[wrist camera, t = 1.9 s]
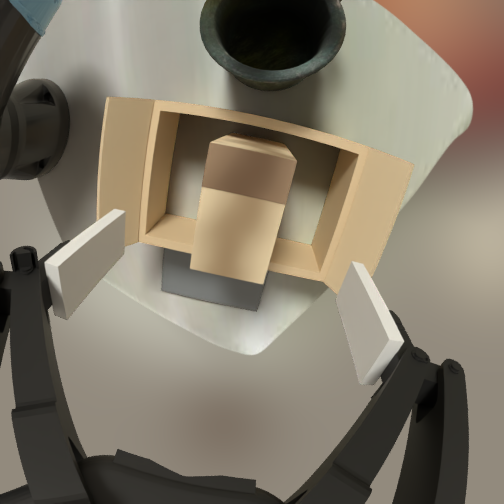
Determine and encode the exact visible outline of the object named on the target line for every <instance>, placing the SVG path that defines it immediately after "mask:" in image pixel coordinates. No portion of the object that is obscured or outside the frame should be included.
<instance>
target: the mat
mask: <svg viewBox="0 0 504 504" xmlns="http://www.w3.org/2000/svg"><path fill="white" fill-rule="evenodd" d="M191 256H192V254H190V253H186V252H181V251H177V250H172V249H168V248H164V258H163V272H162V288H161V290H162V291H166V292H170V293H174V294H178V295H182V296H187V297H191V298H195V299H200V300H204V301H209V302H213V303H218V304H222V305H227V306H232V307H236V308H241V309H246V310H251V311H256V312H257V309H258V305H259V302H260V298H261V295H262V292H263V288H264V285H265V281H266V278H267V274H268V271H269V270H267V273H266V276H265V280H264V283H263V284H258V283H254V282H249V281H244V280H239V279H235V278H230V277H225V276H221V275H216V274H212V273H207V272H203V271H198V270H194V269H190V263H191Z"/></svg>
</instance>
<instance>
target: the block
mask: <svg viewBox="0 0 504 504" xmlns="http://www.w3.org/2000/svg"><path fill="white" fill-rule="evenodd" d="M296 164H297V161H296V159H295V158H294V156H293V155H292V153H291V152H290V151H289V149H288V148H287V147H286V145H285V144H283V143H279V142H275V141H271V140H267V139H262V138H258V137H253V136H248V135H243V134H238V133H233V132H232V133H230V134H228V135H225V136H223V137H221V138H219V139H216V140H214V141H212V142H210V144H209V149H208V155H207V160H206V165H205V171H204V176H203V182H202V190H201V196H200V202H199V208H198V215H197V221H196V228H195V234H194V241H193V248H192V256H191V263H190V269H194V270H198V271H203V272H207V273H212V274H216V275H221V276H225V277H230V278H235V279H239V280H244V281H249V282H254V283H258V284H263V283H264V280H265V276H266V273H267V269H268V266H269V262H270V258H271V255H272V251H273V248H274V244H275V241H276V237H277V233H278V230H279V226H280V222H281V219H282V215H283V211H284V208H285V205H286V202H287V198H288V194H289V191H290V187H291V183H292V179H293V176H294V172H295V168H296Z"/></svg>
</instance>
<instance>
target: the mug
mask: <svg viewBox="0 0 504 504" xmlns="http://www.w3.org/2000/svg"><path fill="white" fill-rule="evenodd" d="M341 1H342V0H206V2H205V4H204V6H203V9H202V12H201V17H200V33H201V38H202V41H203V43H204V46H205V48H206V50H207V51H208V53H209V54H210V56H211V57H212V58H213V59H214V60H215V61H216V62H217V63H218V64H219V65H220V66H222V67H223V68H224V69H226V70H227V71H229V72H231V73H232V74H233V75H234V76H235V77H236V78H237V79H238V80H239V81H241V82H242V83H243V84H245V85H247V86H249V87H252V88H254V89H258V90H263V91H278V90H283V89H286V88H290V87H292V86H294V85H296V84H298V83H299V82H301V81H302V80H303V79H304V78H305V77H307V76H309V75H312V74H314V73H316V72H317V71H319V70H320V69H322V68H323V67H325V66H326V65H327V64H328V63H329V62H330V61H331V60H332V59H333V58H334V57H335V55H336V54H337V53H338V51H339V49H340V48H341V46H342V44H343V41H344V37H345V32H346V19H345V14H344V10H343V7H342V5H341V3H340V2H341Z"/></svg>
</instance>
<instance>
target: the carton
mask: <svg viewBox="0 0 504 504" xmlns="http://www.w3.org/2000/svg"><path fill="white" fill-rule="evenodd" d="M180 113H184V114H191V115H198V116H205V117H211V118H217V119H222V120H228V121H233V122H239V123H244V124H248V125H253V126H258V127H262V128H267V129H271V130H276V131H280V132H284V133H288V134H292V135H296V136H299V137H303V138H307V139H311V140H314V141H318V142H321V143H325V144H328V145H331V146H335V147H338V148H341V149H340V153H339V156H338V160H337V163H336V167H335V170H334V174H333V177H332V180H331V184H330V187H329V190H328V194H327V197H326V200H325V204H324V207H323V210H322V213H321V216H320V220H319V223H318V226H317V229H316V232H315V235H314V238H313V241H312V244H311V245H308V244H304V243H300V242H295V241H291V240H287V239H282V238H278V237H276V241H275V244H274V248H273V251H272V255H271V258H270V262H269V266H268V269H267V270H269V271H274V272H278V273H283V274H288V275H293V276H297V277H302V278H307V279H312V280H317V281H322V282H324V283H325V284H326V285H327V286H328V287H329V288H330V289H331V290H333V291H334V292H335V293H336V294H337V295H338V293H339V290H340V288H341V285H342V283H343V281H344V278H345V276H346V274H347V271H348V269H349V266H350V264H351V261H354V262H358V263H362V264H364V266H365V268H366V270H367V271H368V273H369V275H370V277H371V278H372V276H373V274H374V271H375V269H376V267H377V265H378V262H379V260H380V258H381V255H382V253H383V251H384V248H385V246H386V243H387V241H388V238H389V236H390V233H391V231H392V228H393V225H394V223H395V220H396V217H397V215H398V212H399V209H400V207H401V204H402V201H403V198H404V195H405V192H406V189H407V186H408V183H409V180H410V177H411V174H412V171H413V168H414V164H412V163H410V162H407V161H405V160H402V159H400V158H397V157H395V156H392V155H390V154H387V153H384V152H381V151H379V150H376V149H373V148H370V147H368V146H365V145H362V144H359V143H356V142H353V141H350V140H347V139H344V138H341V137H338V136H334V135H331V134H328V133H324V132H321V131H318V130H314V129H310V128H307V127H303V126H299V125H296V124H292V123H288V122H284V121H280V120H275V119H271V118H267V117H262V116H258V115H253V114H248V113H243V112H238V111H233V110H227V109H221V108H215V107H209V106H202V105H195V104H188V103H180V102H171V101H162V100H151V99H139V98H124V97H107V99H106V105H105V111H104V118H103V126H102V134H101V143H100V154H99V167H98V184H97V221H98V220H99V219H101V218H102V217H104V216H105V215H106V214H108V213H109V212H111V211H112V210H113V209H118V210H123V211H126V217H125V246H128V245H131V244H134V243H137V242H142V243H146V244H150V245H155V246H159V247H164V248H168V249H172V250H177V251H181V252H186V253H190V254H192V248H193V241H194V234H195V228H196V221H197V220H195V219H190V218H185V217H180V216H176V215H171V214H166V213H165V212H166V203H167V195H168V187H169V180H170V173H171V166H172V159H173V153H174V146H175V140H176V135H177V129H178V123H179V118H180Z"/></svg>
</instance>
